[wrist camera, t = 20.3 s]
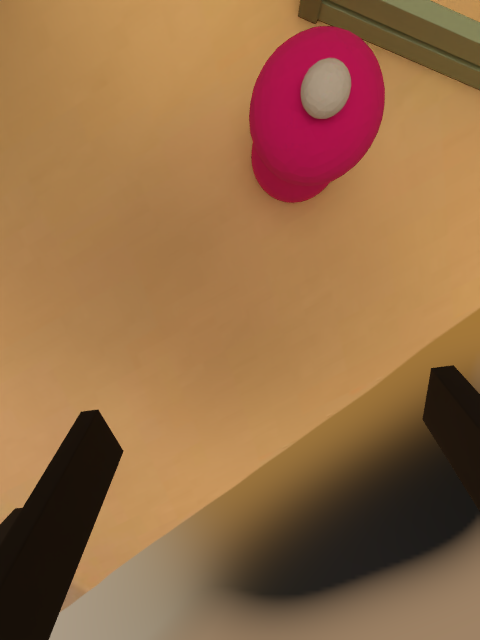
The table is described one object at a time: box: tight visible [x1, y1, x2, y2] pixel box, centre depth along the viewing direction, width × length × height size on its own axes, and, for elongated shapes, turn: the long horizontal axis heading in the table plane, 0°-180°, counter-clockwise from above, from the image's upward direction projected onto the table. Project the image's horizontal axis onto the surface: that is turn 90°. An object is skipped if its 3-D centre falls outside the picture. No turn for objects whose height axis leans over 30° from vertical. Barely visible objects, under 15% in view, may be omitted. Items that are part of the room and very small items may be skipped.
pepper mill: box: [249, 26, 385, 203], centre depth 20 cm, size 7×7×20 cm
